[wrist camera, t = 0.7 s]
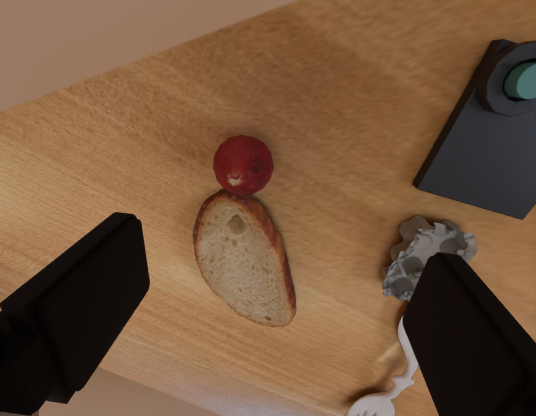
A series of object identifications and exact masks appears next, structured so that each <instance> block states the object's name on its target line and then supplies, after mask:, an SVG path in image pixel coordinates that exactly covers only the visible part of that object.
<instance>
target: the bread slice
mask: <svg viewBox="0 0 536 416" xmlns="http://www.w3.org/2000/svg"><path fill="white" fill-rule="evenodd" d="M193 243H194V250H195V257H196V260H197V264H198V267H199V269H200V272H201V275H202V277H203V278H204V279H205V281H206V283H207V285H208V286H209V287H210V289H211V290H212V291H213V292H214V293H215V294H216V295H218V296H220V297H221V298H222V299H223V300H224V301H225V302H226V303H227V304H228V305H229V307H230V308H231V309H233V310H234V311H235V312H237V313H238V314H239V315H241V316H243V317H245V318H247V319H249V320H251V321H252V322H254V323H258V324H261V325H265V326H270V327H280V326H281V327H283V326H286V325H288V324H289V323H290V322H291V321H292V319H293V318H294V315H295V313H296V298H295V292H294V286H293V283H292V279H291V275H290V270H289V265H288V261H287V256H286V253H285V250H284V246H283V244H282V240H281V237H280V235H279V233H278V231H277V230H276V229H275V227H274V225H273V223H272V221H271V219H270V218H269V216H268V214H267V213H266V211H265V210H264V208H263V207H262V206H261V205H260V204H259V203H257V202H256V201H255V200H253V199H251V198H250V197H248V196H246V195H245V196H241V195H236V194H232V193H231V192H229V191H227V190H226V189H225V190H221V191H219V192H218V193H216V194H215V195H213V196H211V197H210V198H208V199H207V200H206V201H205V202H204V203H203V205H202V207H201V209H200V212H199V214H198V217H197V220H196V223H195V226H194V230H193Z"/></svg>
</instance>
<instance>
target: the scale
mask: <svg viewBox="0 0 536 416" xmlns="http://www.w3.org/2000/svg"><path fill="white" fill-rule="evenodd" d="M524 63H536V41H527V42H522V43H518V44H517V43H514V42H511V41H508V40H505V39H500V40H493V41H492V43H491V44H490V46H489V48H488V50H487V52H486V53H485V55H484V57H483V59H482V60H481V62H480V64H479V66H478V68H477V69H476V71H475V73H474V75H473V77H472V78H471V80H470V82H469V84H468V85H467V87H466V89H465V91H464V93H463V94H462V96H461V98H460V100H459V102H458V103H457V105H456V107H455V109H454V111H453V112H452V114H451V116H450V118H449V119H448V121H447V123H446V125H445V127H444V128H443V130H442V132H441V134H440V136H439V137H438V139H437V141H436V143H435V144H434V146H433V148H432V150H431V152H430V153H429V155H428V157H427V159H426V161H425V162H424V164H423V166H422V168H421V170H420V171H419V173H418V175H417V177H416V178H415V180H414V182H413V185H414V186H415V187H416V188H417V189H419V190H422V191H425V192H429V193H432V194H436V195H439V196H443V197H446V198H449V199H453V200H456V201H460V202H463V203H466V204H470V205H473V206H477V207H480V208H483V209H487V210H490V211H494V212H497V213H501V214H504V215H507V216H511V217H514V218H518V219H521V220H523V219H524V218H525V216H526V215H527V214H528V213H529V211H530V210H531V209H532V208H533V207H534V205H535V204H536V98H533V99H522V98H515V97H511V96H509V95H507V93H506V92H505V90H504V82H505V79H506V77H507V76H508V74H509V73H510V72H511V71H512V70H513V69H514V68H515V67H517V66H519V65H521V64H524Z"/></svg>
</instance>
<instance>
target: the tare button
mask: <svg viewBox="0 0 536 416" xmlns="http://www.w3.org/2000/svg"><path fill="white" fill-rule="evenodd" d="M504 90H505V92H506V93H507V95H509V96H511V97H515V98H522V99H533V98H536V63H524V64H521V65H519V66H517V67H515V68H514V69H513V70H512V71H511V72H510V73H509V74H508V76H507V77H506V79H505V82H504Z"/></svg>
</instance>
